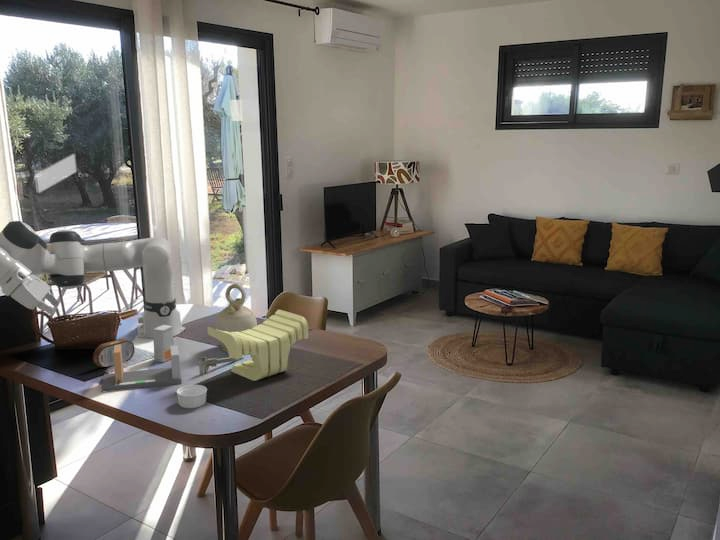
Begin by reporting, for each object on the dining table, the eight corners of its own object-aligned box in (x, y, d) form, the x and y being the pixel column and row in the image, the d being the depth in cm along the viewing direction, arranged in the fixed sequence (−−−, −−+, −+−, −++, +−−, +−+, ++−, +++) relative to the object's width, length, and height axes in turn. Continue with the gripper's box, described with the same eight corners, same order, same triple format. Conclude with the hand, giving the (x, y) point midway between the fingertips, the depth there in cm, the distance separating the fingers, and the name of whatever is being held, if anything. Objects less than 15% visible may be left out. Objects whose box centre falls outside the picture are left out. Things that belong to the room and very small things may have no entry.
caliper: (201, 376, 209) (201, 358, 208) (199, 375, 209) (198, 358, 208) (244, 359, 226) (243, 342, 224) (241, 358, 226) (241, 342, 225)
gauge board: (101, 391, 194) (99, 363, 193) (104, 378, 206) (102, 350, 204) (181, 383, 202) (180, 355, 200) (179, 370, 213) (178, 344, 211)
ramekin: (198, 395, 193) (197, 382, 192) (213, 403, 187) (212, 390, 186) (171, 403, 187) (171, 389, 186) (186, 412, 181) (185, 398, 180)
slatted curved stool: (238, 390, 196) (236, 336, 193) (209, 377, 207) (207, 326, 203) (308, 366, 218) (308, 317, 214) (279, 356, 228) (278, 309, 225)
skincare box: (164, 362, 221) (162, 330, 218) (154, 361, 222) (152, 329, 220) (174, 357, 226) (173, 325, 224) (164, 355, 228) (163, 324, 225)
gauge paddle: (115, 385, 195) (112, 354, 193) (116, 373, 205) (114, 344, 203) (121, 384, 196) (119, 354, 194) (123, 373, 205) (121, 344, 203)
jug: (233, 339, 247) (230, 278, 242) (265, 345, 240) (264, 282, 235) (208, 350, 234) (205, 286, 228) (241, 357, 227) (239, 290, 222)
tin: (131, 357, 226) (129, 335, 224) (136, 359, 224) (135, 337, 222) (93, 369, 214) (91, 346, 212) (98, 371, 212) (96, 347, 210)
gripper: (17, 279, 196) (53, 307, 201) (0, 294, 177) (41, 324, 182) (31, 265, 197) (67, 293, 201) (16, 278, 178) (57, 308, 182)
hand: (55, 308), depth 192 cm, fingers open, 8 cm apart
